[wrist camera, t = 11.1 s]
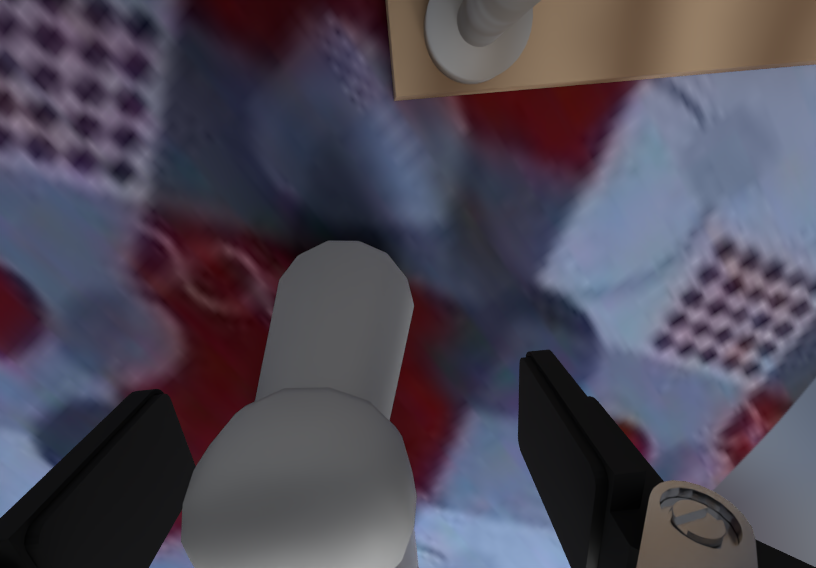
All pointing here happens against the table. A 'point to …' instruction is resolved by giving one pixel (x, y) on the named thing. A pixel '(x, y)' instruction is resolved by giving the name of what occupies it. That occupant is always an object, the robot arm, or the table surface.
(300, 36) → the table surface
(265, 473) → the salt shaker
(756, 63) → the wooden activity board
